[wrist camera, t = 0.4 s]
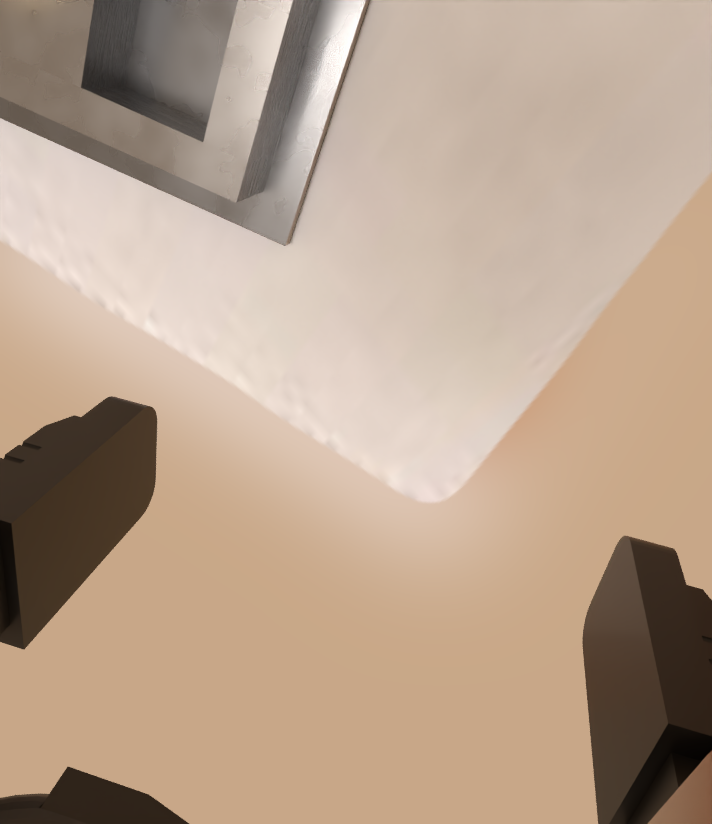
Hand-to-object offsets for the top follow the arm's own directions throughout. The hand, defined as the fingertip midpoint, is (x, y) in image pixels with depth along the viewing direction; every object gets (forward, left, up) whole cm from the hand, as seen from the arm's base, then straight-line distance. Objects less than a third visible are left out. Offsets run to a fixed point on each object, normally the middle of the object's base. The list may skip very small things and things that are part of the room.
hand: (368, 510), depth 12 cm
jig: (-2, -22, -27) cm, 35 cm away
